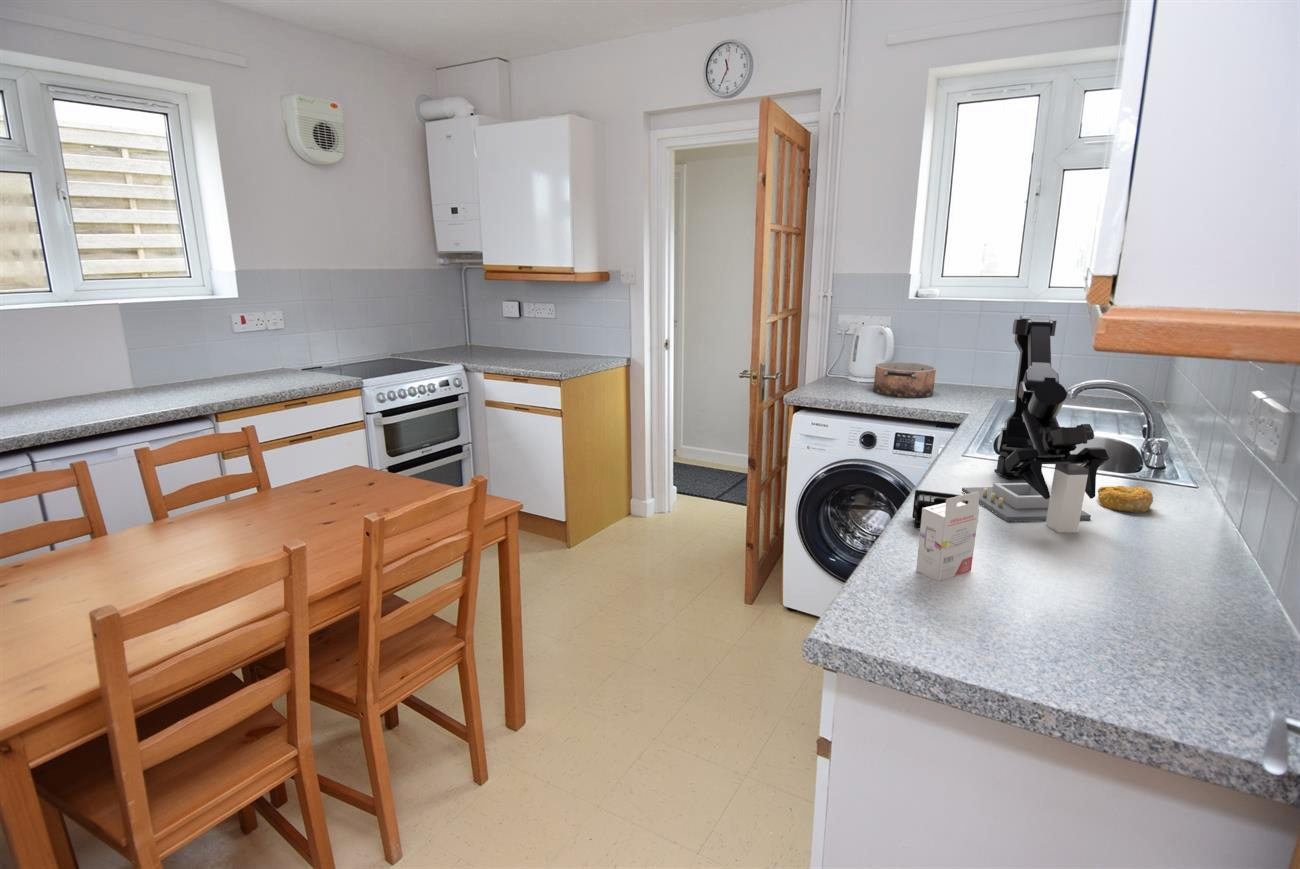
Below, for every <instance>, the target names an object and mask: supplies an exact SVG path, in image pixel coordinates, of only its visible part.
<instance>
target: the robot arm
mask: <svg viewBox="0 0 1300 869" xmlns="http://www.w3.org/2000/svg"><path fill="white" fill-rule="evenodd" d="M1056 328H1057V320H1051V319H1050V315H1036V314H1033V315H1030V314H1020V316H1019V319H1014V320H1013V323H1012V335H1014V339H1013V340H1014V344H1015V345H1016V347H1017V349H1018V350H1019V359H1018V360H1019V361H1018V370H1017V375H1016V376H1017V378H1016V385H1015V395H1014V402H1013V410H1012V413H1011V414H1010V415H1009V416H1008V417H1007V418H1006V419H1005V421H1004V425H1003V426H1004V427H1001V429H1000V432H999V435H998V438H997V450H998V453H1000V454H999V456H998V459H997V465H996V468H994V472H995V473H997V474H998V475H1000V476H1002V477H1004V478H1006V479H1007V480H1023V481H1024V483H1028V484H1029V485H1030V486H1032V487H1033V488H1034V489H1035V490H1036V491H1037V492H1038V493H1039V494H1040V495H1041V496H1042V497H1044V498H1045V499H1049V498H1050V494H1049V492H1050V490H1049V488H1048V486H1047V485H1048V484H1047V482H1046V479H1045V476H1044V475H1043V474H1044V473H1043V471H1042V469H1043V468H1042V466H1043V465H1056V464H1077V465H1079V466H1082V467H1084V468H1086V469H1088V470H1089V472H1088V477H1087V483H1086V488H1085V493H1086V496H1088V497H1089V499H1094V498H1095V497H1096V488H1097V487H1096V485H1097V484H1096V482H1097V479H1096V478H1097V472H1098V469H1099V468H1100V467H1101V466H1103V465H1104V464H1105V462H1107V461H1108V460H1110V456H1109V454H1108V452H1107V450H1106V448H1103V447H1084V448H1082V449H1081V450H1080V451H1079V452H1078V453H1074V454H1073V453H1071V452H1072V451H1073V452H1074V451H1075V450H1076V449H1077V445H1082V444H1084V445H1087V444H1088V441H1090V440H1091V441H1092V440H1094V438H1095V431H1094V429H1093V428H1092V425H1091V424H1090V423H1080V424H1077V425H1076V426H1070V427H1069V426H1067V427H1065V426H1060V424H1059V422H1058V419H1057V416H1058V415H1059V414H1060V411H1061V409H1062V407H1063V405H1064V403H1065V401H1066V399H1067V396H1068V392H1067V390H1066V388H1065V387H1064V386H1063V385H1062V383H1060V378H1059V377H1060V376H1059V373H1058V371H1056V370H1055V369H1054V368H1053V367H1052V353H1051V352H1052V350H1051V346H1052V345H1051V337H1055V334H1056Z"/></svg>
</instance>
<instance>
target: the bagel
mask: <svg viewBox="0 0 1300 869" xmlns="http://www.w3.org/2000/svg"><path fill="white" fill-rule="evenodd" d="M1097 493H1098V496H1097V498H1098V501H1099V504H1100V505H1101V506H1102V507H1103V508H1104V507H1105V508H1107V509H1110V510H1114V511H1119V512H1126V513H1139V514H1141V513H1145V512H1147V511H1149V510H1150V508H1151V506H1152V504H1153V503H1154V496H1153V493H1152V491H1150V490H1149V489H1147V488H1145V487H1142V486H1133V487H1128V486H1124V485H1115V486H1101V487H1099V488H1097Z"/></svg>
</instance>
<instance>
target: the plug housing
mask: <svg viewBox="0 0 1300 869" xmlns="http://www.w3.org/2000/svg"><path fill="white" fill-rule="evenodd" d="M1054 465H1055V466H1054V472H1053V478H1052V482H1051V483H1052V484H1051V489H1050V493H1051V494H1050V500H1049V506H1048V512H1047V518H1046V521H1045V523H1044V524H1045V526H1047V528H1048V527H1049V528H1050V529H1052V530H1054V531H1055V532H1057V533H1078V531H1079V525H1080V521H1081V520H1080V516H1081V510H1082V511H1083V505H1084V504H1083V502H1084V497H1085V493H1086V492H1085V488H1086V483H1087V477H1088V472H1089V470H1088V469H1086V468H1084V467H1082V466H1079V465H1077V464H1054Z"/></svg>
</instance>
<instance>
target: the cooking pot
mask: <svg viewBox="0 0 1300 869" xmlns="http://www.w3.org/2000/svg"><path fill="white" fill-rule="evenodd" d="M936 370H937V367H935V366H932V365H929V364H926V363H925V364H924V363H918V362H905V361H903V362H902V361H898V362H897V361H890V362H889V361H888V362H886V361H885V362H880V363H879V362H878V363H876V364H875V371H874V382H873V392H874V393H876V394H878V395H880V396H886V397H891V398H898V399H899V398H900V399H925V398H930V397H932V396H933V394H934V388H935V381H936V380H935V378H936V372H937V371H936Z"/></svg>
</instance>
